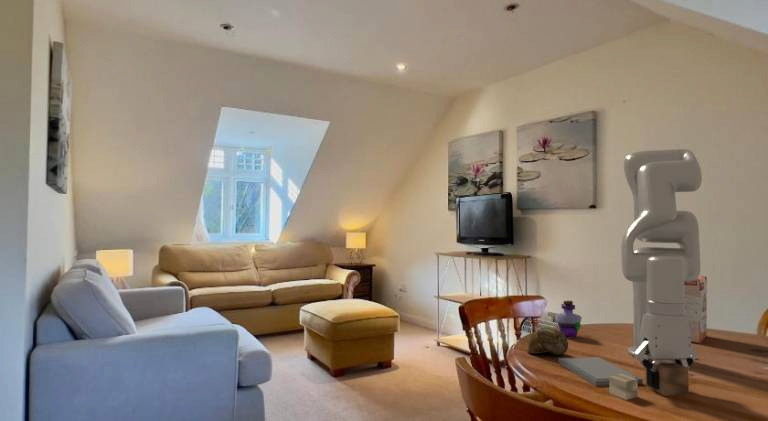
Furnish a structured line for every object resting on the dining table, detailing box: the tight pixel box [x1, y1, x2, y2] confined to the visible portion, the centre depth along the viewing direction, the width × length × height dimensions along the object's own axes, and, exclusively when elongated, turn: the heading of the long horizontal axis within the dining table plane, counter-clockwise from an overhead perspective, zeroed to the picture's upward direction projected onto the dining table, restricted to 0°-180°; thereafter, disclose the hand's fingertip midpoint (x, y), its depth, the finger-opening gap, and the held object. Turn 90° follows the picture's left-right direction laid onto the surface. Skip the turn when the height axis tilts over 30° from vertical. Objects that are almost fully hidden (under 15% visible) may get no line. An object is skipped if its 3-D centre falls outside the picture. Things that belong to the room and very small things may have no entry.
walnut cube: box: [644, 360, 689, 397], centre depth 104 cm, size 6×6×6 cm
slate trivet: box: [557, 356, 644, 387], centre depth 116 cm, size 12×18×1 cm, turn 6°
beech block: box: [608, 374, 639, 401], centre depth 101 cm, size 4×4×4 cm
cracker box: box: [684, 275, 708, 344], centre depth 152 cm, size 14×6×21 cm, turn 137°
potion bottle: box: [555, 300, 583, 338], centre depth 154 cm, size 9×9×12 cm
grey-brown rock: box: [527, 326, 569, 356], centre depth 133 cm, size 11×9×8 cm
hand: (666, 386), depth 104 cm, fingers closed on walnut cube, 6 cm apart
